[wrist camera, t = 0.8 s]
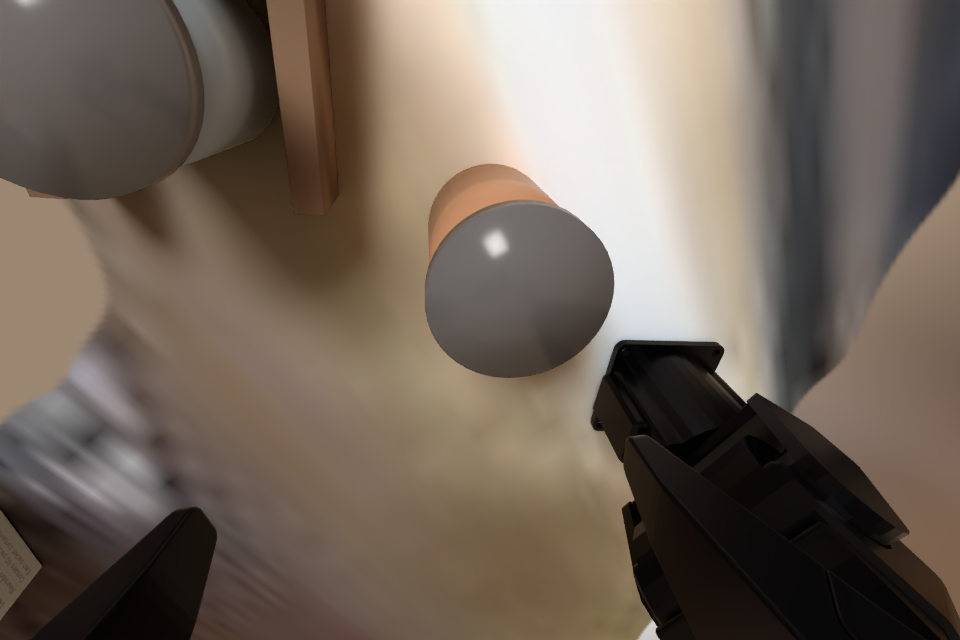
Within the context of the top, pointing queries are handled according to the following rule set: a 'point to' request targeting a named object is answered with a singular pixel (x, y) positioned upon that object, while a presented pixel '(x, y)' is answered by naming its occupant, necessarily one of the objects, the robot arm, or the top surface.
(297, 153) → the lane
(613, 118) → the top surface
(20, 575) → the supplement box
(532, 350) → the terracotta jar
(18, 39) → the slate jar
